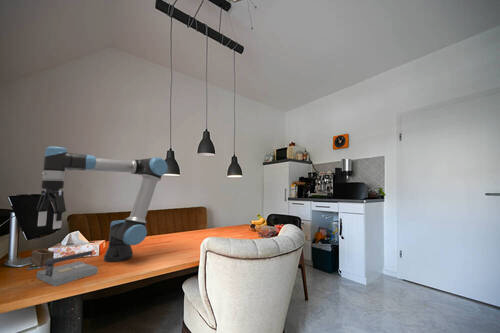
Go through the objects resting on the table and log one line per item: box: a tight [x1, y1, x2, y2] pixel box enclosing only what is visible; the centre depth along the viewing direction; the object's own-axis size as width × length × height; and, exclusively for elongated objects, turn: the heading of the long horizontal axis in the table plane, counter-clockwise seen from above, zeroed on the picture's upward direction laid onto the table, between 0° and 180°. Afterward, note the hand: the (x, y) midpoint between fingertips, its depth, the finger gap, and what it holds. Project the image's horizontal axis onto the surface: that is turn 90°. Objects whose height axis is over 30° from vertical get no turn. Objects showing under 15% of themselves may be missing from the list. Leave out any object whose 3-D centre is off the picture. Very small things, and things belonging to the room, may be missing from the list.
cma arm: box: [45, 250, 93, 265], centre depth 105 cm, size 19×3×2 cm, turn 153°
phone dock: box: [30, 248, 55, 267], centre depth 119 cm, size 5×12×7 cm, turn 63°
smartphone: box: [25, 264, 46, 271], centre depth 118 cm, size 8×15×1 cm, turn 29°
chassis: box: [35, 260, 99, 287], centre depth 105 cm, size 17×18×7 cm
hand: (49, 227), depth 97 cm, fingers open, 13 cm apart
